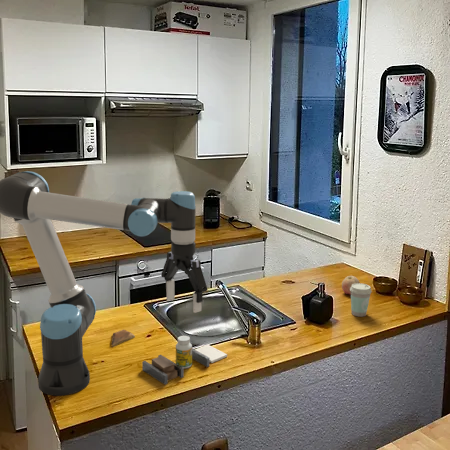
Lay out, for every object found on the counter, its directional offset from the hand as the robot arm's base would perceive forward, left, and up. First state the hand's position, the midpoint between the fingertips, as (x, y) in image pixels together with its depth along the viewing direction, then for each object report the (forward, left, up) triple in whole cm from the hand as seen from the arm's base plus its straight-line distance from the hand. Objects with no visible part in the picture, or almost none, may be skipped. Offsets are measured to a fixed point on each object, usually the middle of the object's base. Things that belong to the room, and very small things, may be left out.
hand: (183, 305), depth 176 cm
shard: (-5, +29, -22) cm, 36 cm away
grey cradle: (-3, 0, -21) cm, 21 cm away
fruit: (+98, +3, -21) cm, 100 cm away
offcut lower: (-8, 0, -21) cm, 23 cm away
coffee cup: (+81, -13, -21) cm, 85 cm away
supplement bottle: (0, 0, -21) cm, 21 cm away
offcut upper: (-9, 0, -19) cm, 21 cm away
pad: (+11, 0, -21) cm, 24 cm away
